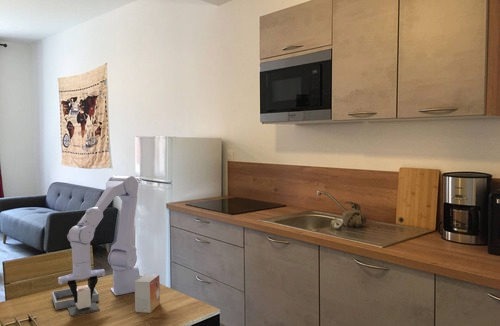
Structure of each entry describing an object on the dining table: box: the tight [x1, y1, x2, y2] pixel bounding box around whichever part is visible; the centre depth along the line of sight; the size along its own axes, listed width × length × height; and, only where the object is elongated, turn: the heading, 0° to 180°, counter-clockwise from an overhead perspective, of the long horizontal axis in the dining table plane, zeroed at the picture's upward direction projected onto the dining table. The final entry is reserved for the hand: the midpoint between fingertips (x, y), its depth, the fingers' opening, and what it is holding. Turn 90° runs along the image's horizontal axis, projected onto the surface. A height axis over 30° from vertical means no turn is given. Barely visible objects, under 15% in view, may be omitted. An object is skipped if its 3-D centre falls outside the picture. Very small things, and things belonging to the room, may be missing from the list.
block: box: [75, 284, 91, 309], centre depth 137 cm, size 4×5×6 cm
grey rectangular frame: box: [51, 287, 100, 311], centre depth 146 cm, size 14×12×2 cm
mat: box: [66, 301, 100, 318], centre depth 137 cm, size 9×8×1 cm
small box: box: [134, 273, 161, 314], centre depth 137 cm, size 8×6×10 cm
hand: (83, 300), depth 137 cm, fingers closed on block, 4 cm apart
